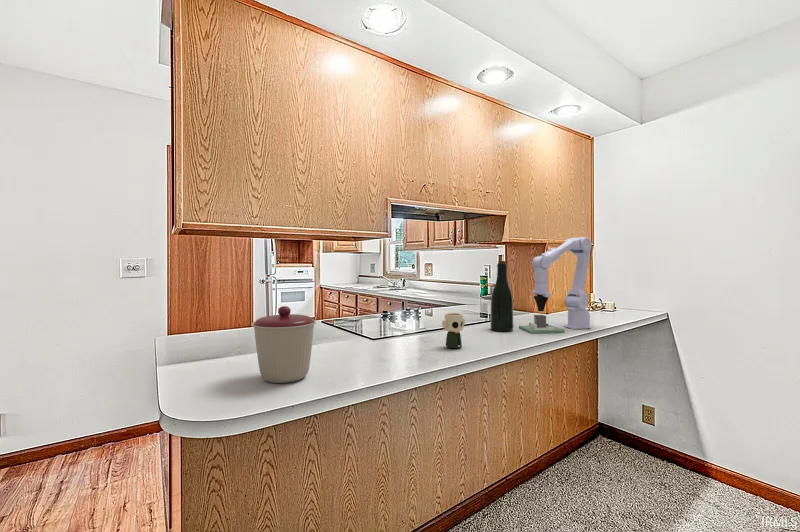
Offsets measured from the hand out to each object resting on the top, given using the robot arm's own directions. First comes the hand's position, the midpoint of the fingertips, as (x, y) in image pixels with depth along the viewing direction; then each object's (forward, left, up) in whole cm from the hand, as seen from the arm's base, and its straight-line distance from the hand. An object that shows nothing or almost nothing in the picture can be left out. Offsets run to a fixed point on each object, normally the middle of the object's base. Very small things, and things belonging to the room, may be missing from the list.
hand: (540, 311), depth 191 cm
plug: (0, 0, -8) cm, 8 cm away
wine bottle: (+17, -5, -10) cm, 20 cm away
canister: (+106, +61, -10) cm, 123 cm away
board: (-1, -2, -9) cm, 10 cm away
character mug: (+48, +28, -10) cm, 56 cm away
